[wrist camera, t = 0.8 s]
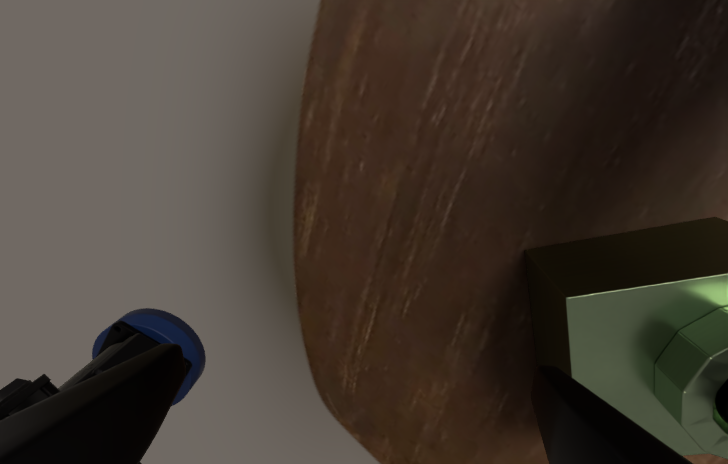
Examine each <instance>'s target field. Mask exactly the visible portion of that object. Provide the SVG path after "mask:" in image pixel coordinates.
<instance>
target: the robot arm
mask: <svg viewBox="0 0 728 464" xmlns="http://www.w3.org/2000/svg"><path fill="white" fill-rule="evenodd" d="M185 366H186V367H185ZM191 368H192V363H191V361H189V360H188V359H186V358H185V357H183V353H182V349H181V347H180V345H178V344H161V343H159V342H158V341H156V340H154V339H153V338H151V337H149V336H148V335H146V334H144V333H143V332H141V331H139V330H138V329H136V328H134V327H133V326H131V325H129V324H128V323H126V322H124V321H122V320H119V321H116V322H115V323H114V324H113V325H112V326H111V328H110V330H109V332H108V334H107V336H106V338H105V340H104V342H103V344H102V346H101V348H100V350H99V352H98V354H97V356H96V358H95V359H94V360H92V361H91V362H90V363H89V364H88V365H86V366H85V367H84V368H83V369H81V370H80V371H79V372H78V373H76V374H75V375H74V376H73V377H72V378H70V379H69V380H68V381H67V382H65V383H64V384H63V385H62V386H60V387H59V388H58V389H57V388H56V387H55V386H54V385H53V384H52V383H51V382H50V379H49V378H48V377H47V376H46V375H45V374H43V375H42V376H40V377H39V378H38V379H36V380H35V381H33V382H31V381H30V380H29V381H27V380H23V379H15V380H14V381H13V382H11V383H10V384H8V385H7V386H5V387H4V388H3V389H1V390H0V464H141V463H140V460H141V459H142V457H143V456H144V454H145V453H146V451H147V449H148V448H149V446H150V444H151V443H152V441H153V439H154V438H155V436H156V434H157V432H158V430H159V428H160V426H161V424H162V423H163V421H164V419H165V417H166V415H167V412H168V411H169V409H170V407H171V405H172V403H173V401H174V399H175V397H176V395H177V393H178V391H179V389H180V387H181V385H182V383H183V381H184V379H185V378H186V376H187V374H188V373H189V371H190V370H191ZM531 400H532V404H533V408H534V412H535V415H536V419H537V422H538V426H539V429H540V433H541V436H542V440H543V443H544V447H545V450H546V454H547V457H548V461H549V464H693V463H691V462H690V461H689V460H687V459H686V458H684V457H683V456H681V455H680V454H679V453H677V452H676V451H674V450H673V449H672V448H670V447H669V446H667V445H666V444H665V443H663V442H662V441H660V440H659V439H658V438H656V437H655V436H653V435H652V434H651V433H649V432H648V431H646V430H645V429H644V428H642V427H641V426H639V425H638V424H637V423H635V422H634V421H632V420H631V419H630V418H628V417H627V416H625V415H624V414H623V413H621V412H620V411H618V410H617V409H616V408H614V407H613V406H611V405H610V404H609V403H607V402H606V401H604V400H603V399H601V398H600V397H599V396H597V395H596V394H594V393H593V392H592V391H590V390H589V389H587V388H586V387H585V386H583V385H582V384H580V383H579V382H578V381H576V380H575V379H573V378H572V377H571V376H569V375H568V374H566V373H565V372H564V371H562V370H561V369H559V368H558V367H556V366H549V365H539V366H537V368H536V370H535V375H534V380H533V386H532V391H531Z"/></svg>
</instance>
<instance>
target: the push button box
mask: <svg viewBox="0 0 728 464" xmlns="http://www.w3.org/2000/svg"><path fill="white" fill-rule="evenodd" d="M525 260H526V269H527V278H528V287H529V296H530V305H531V314H532V323H533V332H534V342H535V351H536V360H537V366H539V365H549V366H556V367H558V368H559V369H561V370H562V371H564V372H565V373H566V374H568V375H569V376H571V377H572V378H573V379H575V380H576V381H578V382H579V383H580V384H582V385H583V386H585V387H586V388H587V389H589V390H590V391H592V392H593V393H594V394H596V395H597V396H599V397H600V398H601V399H603V400H604V401H606V402H607V403H609V404H610V405H611V406H613V407H614V408H616V409H617V410H618V411H620V412H621V413H623V414H624V415H625V416H627V417H628V418H630V419H631V420H632V421H634V422H635V423H637V424H638V425H639V426H641V427H642V428H644V429H645V430H646V431H648V432H649V433H651V434H652V435H653V436H655V437H656V438H658V439H659V440H660V441H662V442H663V443H665V444H666V445H667V446H669V447H670V448H672V449H673V450H674V451H676V452H677V453H679V454H680V455H681V456H682V455H695V454H708V453H709V454H713V455H716V456H719V457H722V458H725V459H728V424H727V423H726V422H725V421H724V420H723V419H722V418H721V417H720V415H719V414H718V411H717V409H716V405H715V397H716V393H717V391H718V390H719V389H720V388H721V386H722V385H723V384H724V383H725V381H726V380H727V379H728V221H725V220H723V219H720V218H717V217H712V218H706V219H700V220H695V221H689V222H683V223H678V224H672V225H666V226H660V227H655V228H649V229H643V230H638V231H632V232H626V233H620V234H615V235H609V236H603V237H598V238H592V239H586V240H580V241H575V242H569V243H563V244H558V245H552V246H546V247H540V248H535V249H529V250H525Z"/></svg>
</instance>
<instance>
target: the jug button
mask: <svg viewBox="0 0 728 464" xmlns="http://www.w3.org/2000/svg"><path fill="white" fill-rule="evenodd" d="M715 405H716V409H717V411H718V414H719V415H720V417H721V418H722V419H723V420H724V421H725V422H726V423H727V424H728V379H727V380H726V381H725V383H724V384H723V385H722V386H721V388H720V389H719V390H718V391H717V393H716V397H715Z"/></svg>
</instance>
